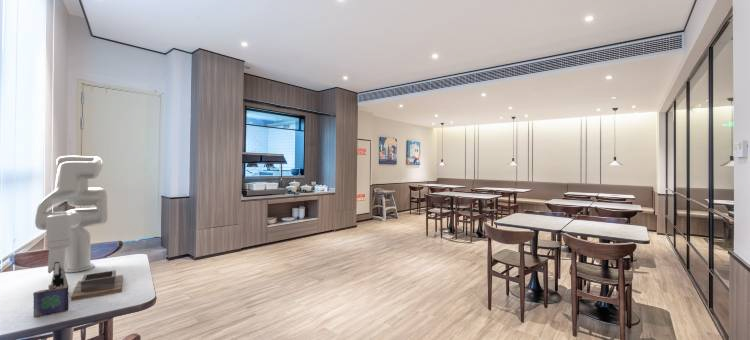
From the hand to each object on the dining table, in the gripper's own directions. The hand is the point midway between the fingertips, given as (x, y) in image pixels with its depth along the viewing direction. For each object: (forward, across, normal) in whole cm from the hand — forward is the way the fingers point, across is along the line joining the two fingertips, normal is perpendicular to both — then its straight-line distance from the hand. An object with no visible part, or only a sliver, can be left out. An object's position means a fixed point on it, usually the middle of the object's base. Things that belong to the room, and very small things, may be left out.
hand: (59, 286), depth 138 cm
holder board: (+3, +1, +13) cm, 13 cm away
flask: (+4, +23, +1) cm, 23 cm away
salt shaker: (+3, 0, 0) cm, 3 cm away
